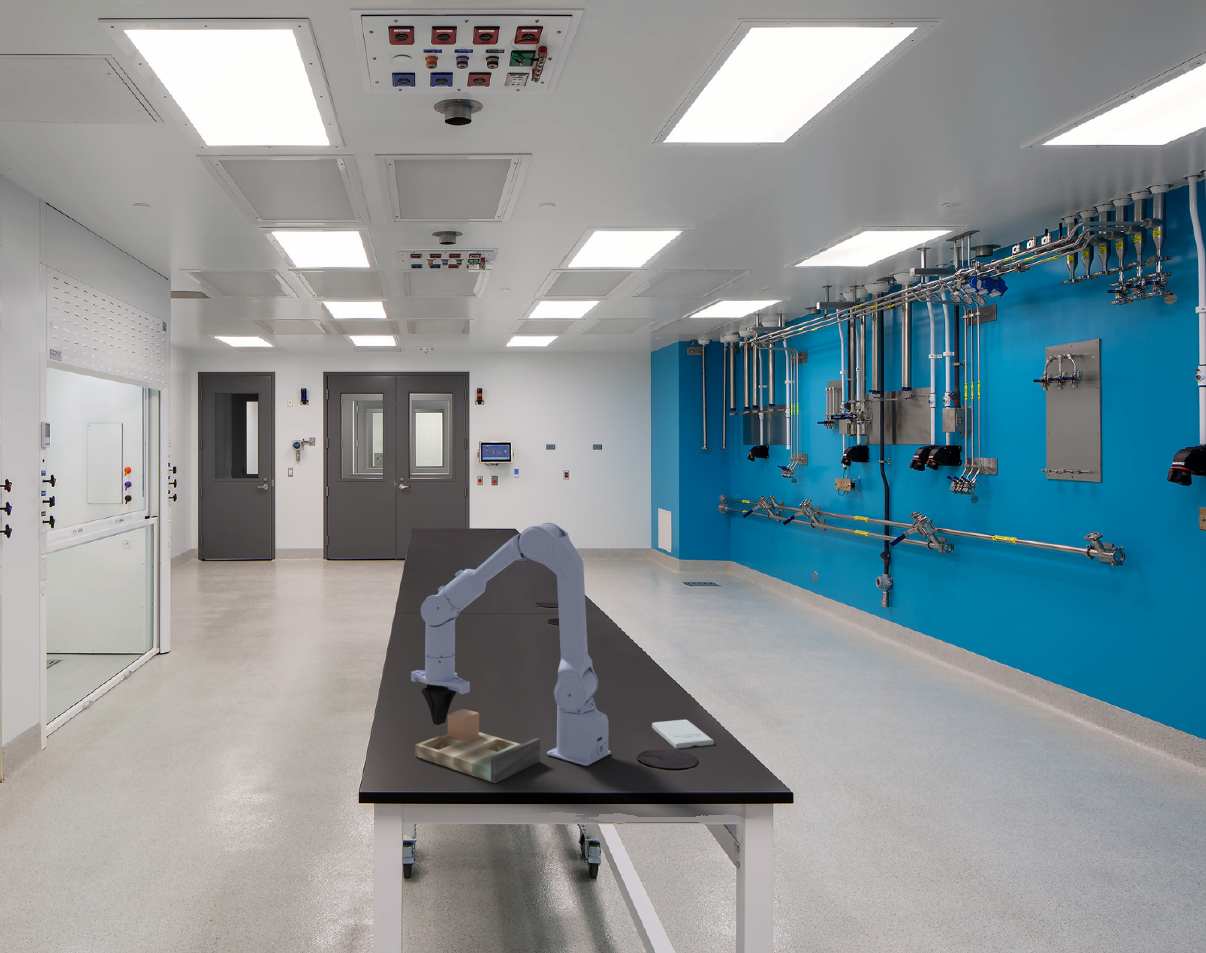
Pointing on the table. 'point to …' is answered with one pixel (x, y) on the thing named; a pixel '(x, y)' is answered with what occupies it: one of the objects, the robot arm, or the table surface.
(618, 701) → the table surface
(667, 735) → the external hard drive
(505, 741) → the trap board
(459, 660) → the table surface
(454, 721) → the block
